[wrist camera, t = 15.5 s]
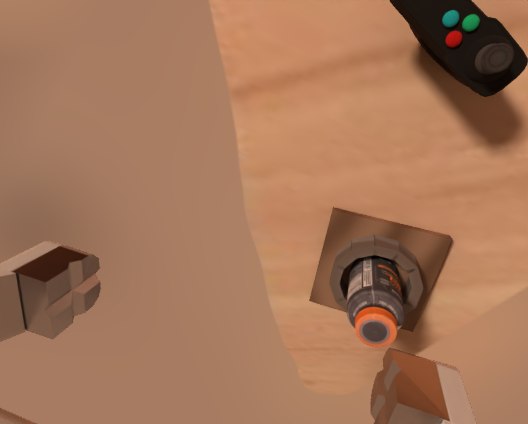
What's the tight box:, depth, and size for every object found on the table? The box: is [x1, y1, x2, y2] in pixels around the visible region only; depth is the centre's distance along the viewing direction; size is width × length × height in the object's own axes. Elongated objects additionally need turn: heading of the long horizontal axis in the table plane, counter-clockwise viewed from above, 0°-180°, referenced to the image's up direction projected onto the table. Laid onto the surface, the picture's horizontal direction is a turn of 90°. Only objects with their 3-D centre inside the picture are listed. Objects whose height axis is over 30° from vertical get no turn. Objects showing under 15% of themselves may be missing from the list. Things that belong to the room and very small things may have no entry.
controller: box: [390, 0, 528, 97], centre depth 29 cm, size 4×12×10 cm, turn 48°
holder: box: [309, 207, 452, 332], centre depth 43 cm, size 14×14×4 cm
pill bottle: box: [347, 255, 405, 347], centre depth 38 cm, size 6×6×11 cm
